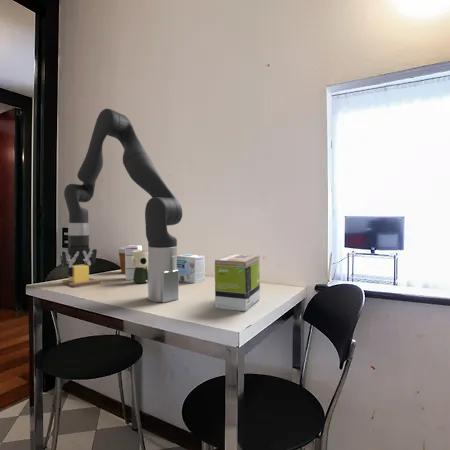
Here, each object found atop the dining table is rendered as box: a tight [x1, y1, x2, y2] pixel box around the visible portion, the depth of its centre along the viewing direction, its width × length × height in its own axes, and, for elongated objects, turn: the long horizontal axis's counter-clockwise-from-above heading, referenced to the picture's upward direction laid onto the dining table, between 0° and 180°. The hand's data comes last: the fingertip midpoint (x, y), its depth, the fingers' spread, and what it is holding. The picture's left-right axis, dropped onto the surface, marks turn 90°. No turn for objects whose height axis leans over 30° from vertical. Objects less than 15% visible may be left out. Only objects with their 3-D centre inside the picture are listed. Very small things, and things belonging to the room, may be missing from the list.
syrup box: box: [124, 244, 143, 281], centre depth 134 cm, size 6×6×14 cm
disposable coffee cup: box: [117, 246, 126, 275], centre depth 149 cm, size 10×10×12 cm
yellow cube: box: [68, 263, 90, 283], centre depth 125 cm, size 6×6×6 cm
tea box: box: [214, 253, 261, 312], centre depth 97 cm, size 15×10×15 cm
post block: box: [62, 277, 101, 288], centre depth 125 cm, size 12×10×5 cm
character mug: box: [131, 249, 148, 284], centre depth 127 cm, size 11×7×13 cm, turn 149°
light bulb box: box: [177, 253, 206, 284], centre depth 132 cm, size 11×7×11 cm, turn 56°
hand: (79, 275), depth 125 cm, fingers open, 6 cm apart
